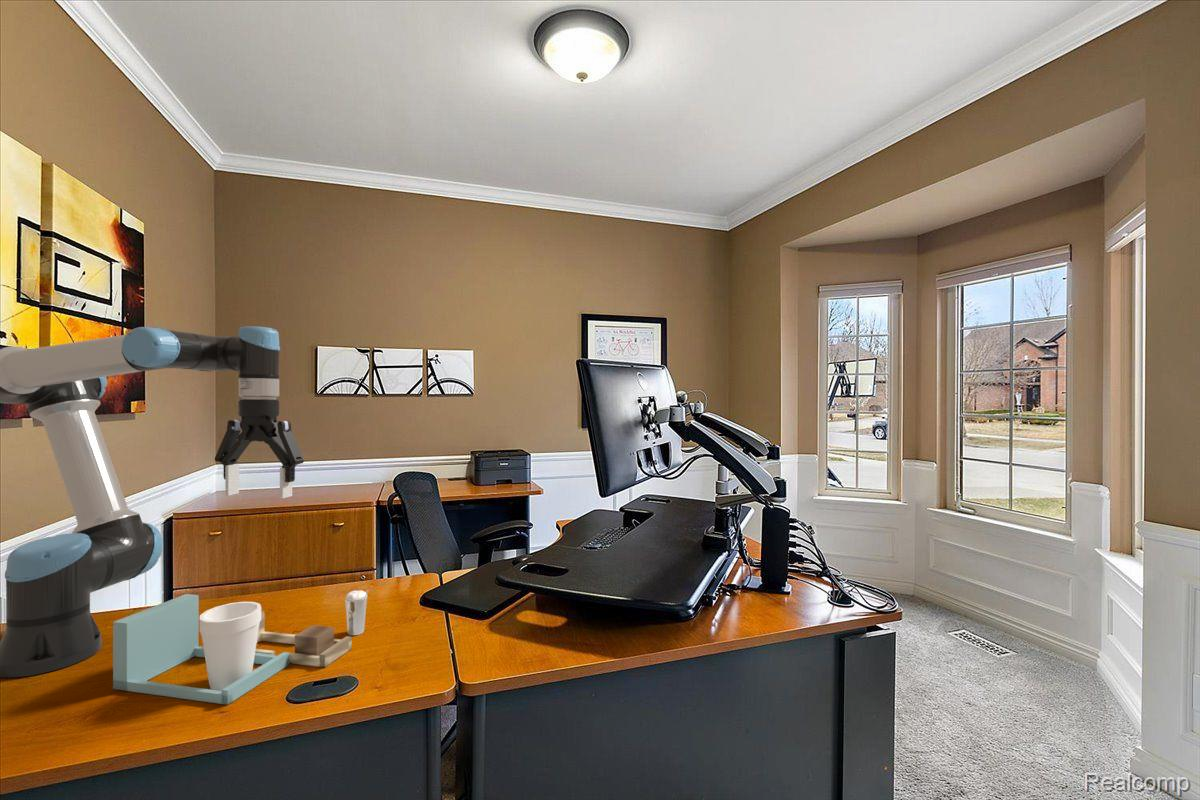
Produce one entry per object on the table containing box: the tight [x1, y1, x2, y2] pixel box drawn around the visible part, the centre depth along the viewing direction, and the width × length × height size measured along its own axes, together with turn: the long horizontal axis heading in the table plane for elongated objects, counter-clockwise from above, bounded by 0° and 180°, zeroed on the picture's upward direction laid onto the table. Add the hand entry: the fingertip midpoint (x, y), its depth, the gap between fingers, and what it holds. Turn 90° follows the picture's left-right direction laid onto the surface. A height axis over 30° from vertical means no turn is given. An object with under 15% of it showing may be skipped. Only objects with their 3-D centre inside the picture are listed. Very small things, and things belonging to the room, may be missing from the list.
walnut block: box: [294, 624, 335, 656], centre depth 109 cm, size 5×5×5 cm
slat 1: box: [255, 610, 296, 655], centre depth 111 cm, size 12×8×6 cm, turn 79°
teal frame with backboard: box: [112, 593, 290, 705], centre depth 100 cm, size 24×14×12 cm, turn 79°
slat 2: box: [287, 635, 353, 668], centre depth 109 cm, size 10×8×2 cm
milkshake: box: [344, 588, 370, 637], centre depth 119 cm, size 4×5×10 cm
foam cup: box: [199, 601, 262, 691], centre depth 99 cm, size 10×9×13 cm
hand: (258, 495), depth 117 cm, fingers open, 13 cm apart
